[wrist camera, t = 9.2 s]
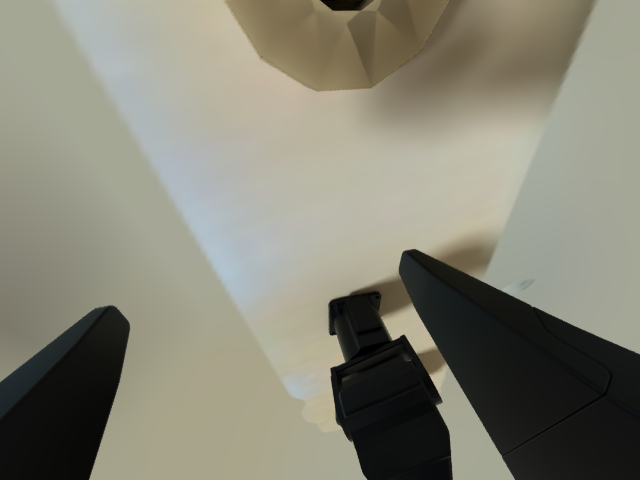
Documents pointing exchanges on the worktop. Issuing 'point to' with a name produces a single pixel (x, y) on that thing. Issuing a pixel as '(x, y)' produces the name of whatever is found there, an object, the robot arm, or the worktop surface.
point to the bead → (337, 38)
